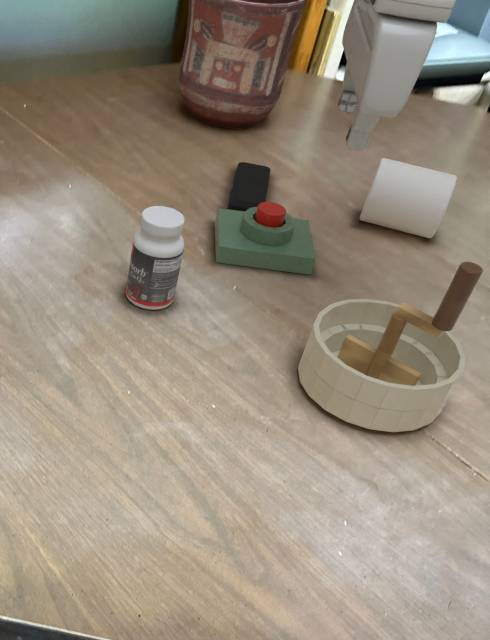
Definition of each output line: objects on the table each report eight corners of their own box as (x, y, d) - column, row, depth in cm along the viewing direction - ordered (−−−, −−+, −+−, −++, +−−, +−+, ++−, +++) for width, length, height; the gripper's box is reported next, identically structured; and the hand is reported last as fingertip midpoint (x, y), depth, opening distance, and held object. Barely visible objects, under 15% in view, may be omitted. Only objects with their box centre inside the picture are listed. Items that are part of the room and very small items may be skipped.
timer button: (281, 216, 98) (285, 203, 97) (283, 230, 96) (287, 217, 94) (253, 213, 98) (257, 199, 97) (255, 227, 96) (258, 213, 94)
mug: (428, 249, 104) (455, 190, 98) (355, 229, 105) (377, 170, 99) (435, 211, 111) (461, 155, 105) (367, 194, 113) (388, 137, 107)
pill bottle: (117, 287, 91) (128, 205, 83) (161, 281, 92) (175, 200, 85) (136, 314, 87) (150, 231, 80) (181, 308, 89) (198, 226, 82)
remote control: (235, 172, 115) (225, 214, 105) (238, 160, 114) (229, 201, 103) (268, 178, 115) (261, 221, 104) (271, 166, 113) (265, 208, 103)
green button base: (303, 235, 103) (312, 206, 100) (310, 274, 96) (320, 245, 93) (214, 223, 103) (221, 194, 100) (215, 262, 96) (222, 232, 93)
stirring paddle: (332, 362, 82) (385, 232, 71) (342, 355, 83) (395, 225, 72) (408, 406, 79) (477, 276, 67) (418, 398, 80) (486, 268, 68)
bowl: (424, 355, 87) (447, 308, 83) (453, 445, 77) (481, 398, 73) (291, 337, 87) (307, 290, 83) (303, 425, 77) (322, 377, 73)
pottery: (159, 92, 132) (178, -35, 118) (255, 95, 135) (284, -29, 121) (186, 137, 121) (210, 2, 107) (290, 138, 124) (327, 7, 110)
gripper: (358, -68, 76) (312, 85, 86) (384, -6, 63) (326, 165, 73) (421, -58, 76) (368, 94, 86) (460, 6, 63) (391, 176, 73)
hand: (349, 127), depth 80 cm, fingers open, 8 cm apart
